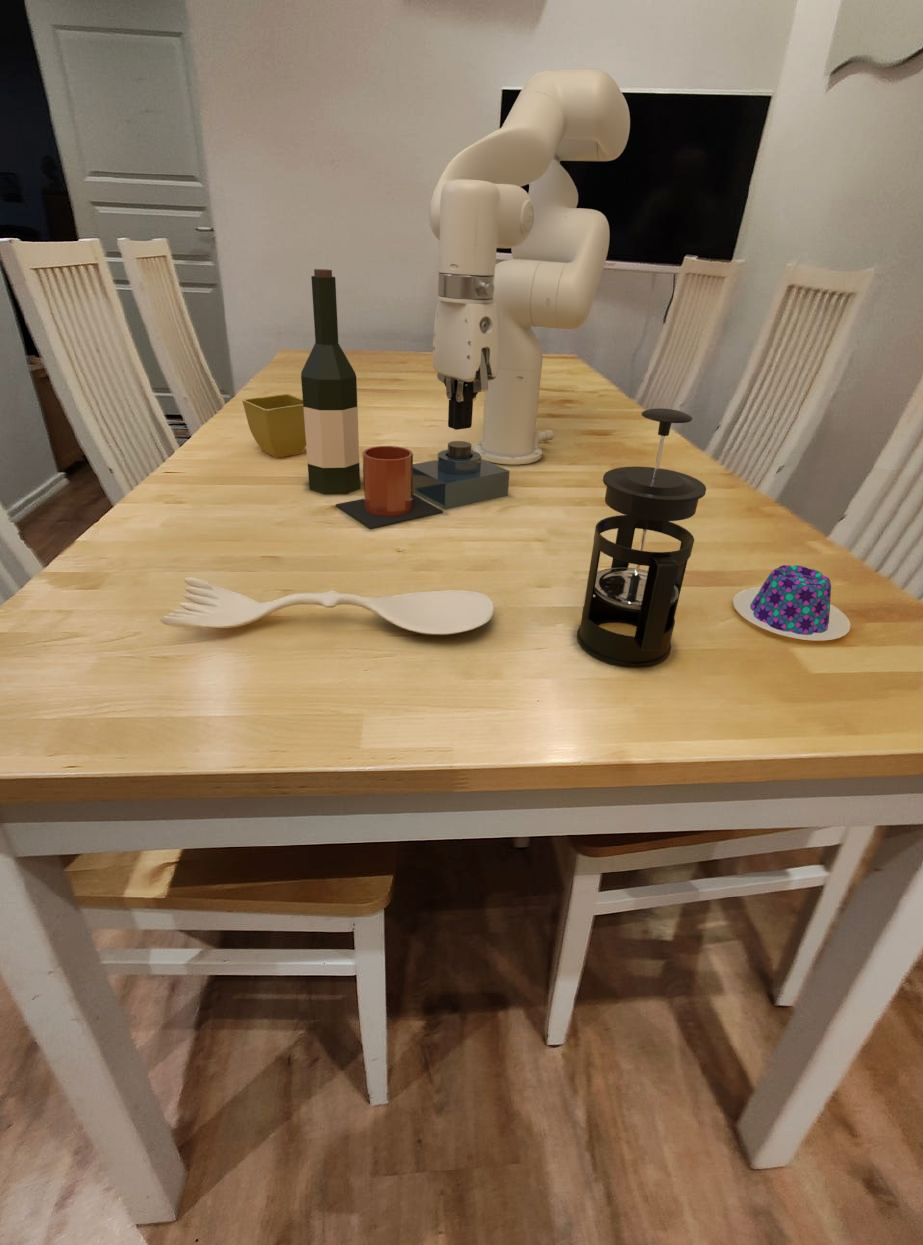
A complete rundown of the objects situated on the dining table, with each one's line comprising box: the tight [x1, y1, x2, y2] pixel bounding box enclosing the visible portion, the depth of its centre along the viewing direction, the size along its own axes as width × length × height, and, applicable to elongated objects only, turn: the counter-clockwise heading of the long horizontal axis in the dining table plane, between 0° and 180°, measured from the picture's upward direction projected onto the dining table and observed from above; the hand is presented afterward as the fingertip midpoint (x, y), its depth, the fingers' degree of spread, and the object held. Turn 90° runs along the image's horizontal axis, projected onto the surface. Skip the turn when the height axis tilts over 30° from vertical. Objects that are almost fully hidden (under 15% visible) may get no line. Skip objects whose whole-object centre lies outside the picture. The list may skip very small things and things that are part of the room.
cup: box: [362, 445, 414, 516], centre depth 95 cm, size 7×7×8 cm
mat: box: [335, 494, 444, 530], centre depth 98 cm, size 12×10×1 cm
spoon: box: [159, 576, 496, 636], centre depth 68 cm, size 9×32×3 cm, turn 94°
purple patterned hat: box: [732, 564, 851, 641], centre depth 73 cm, size 12×12×5 cm
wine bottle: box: [300, 268, 361, 496], centre depth 98 cm, size 8×8×30 cm
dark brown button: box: [447, 440, 473, 459], centre depth 102 cm, size 4×4×2 cm
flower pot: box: [241, 393, 306, 459], centre depth 117 cm, size 9×9×9 cm
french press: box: [576, 407, 707, 669], centre depth 62 cm, size 12×9×23 cm
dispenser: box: [413, 449, 511, 511], centre depth 104 cm, size 12×10×6 cm
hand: (459, 427), depth 100 cm, fingers closed
